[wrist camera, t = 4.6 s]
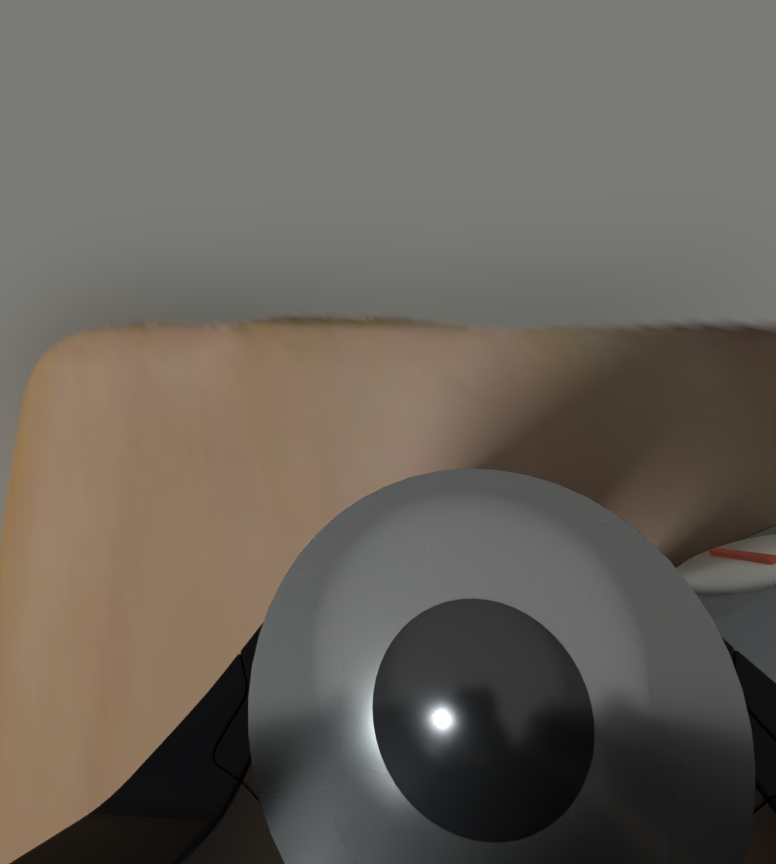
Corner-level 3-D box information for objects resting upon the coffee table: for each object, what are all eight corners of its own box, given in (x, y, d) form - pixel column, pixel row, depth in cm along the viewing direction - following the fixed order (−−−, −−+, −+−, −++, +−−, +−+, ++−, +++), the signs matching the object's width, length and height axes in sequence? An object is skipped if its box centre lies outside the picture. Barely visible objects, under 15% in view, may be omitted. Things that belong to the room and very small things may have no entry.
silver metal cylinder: (422, 654, 15) (343, 1110, 4) (373, 529, 16) (193, 570, 5) (545, 603, 15) (886, 918, 3) (486, 480, 16) (586, 397, 5)
